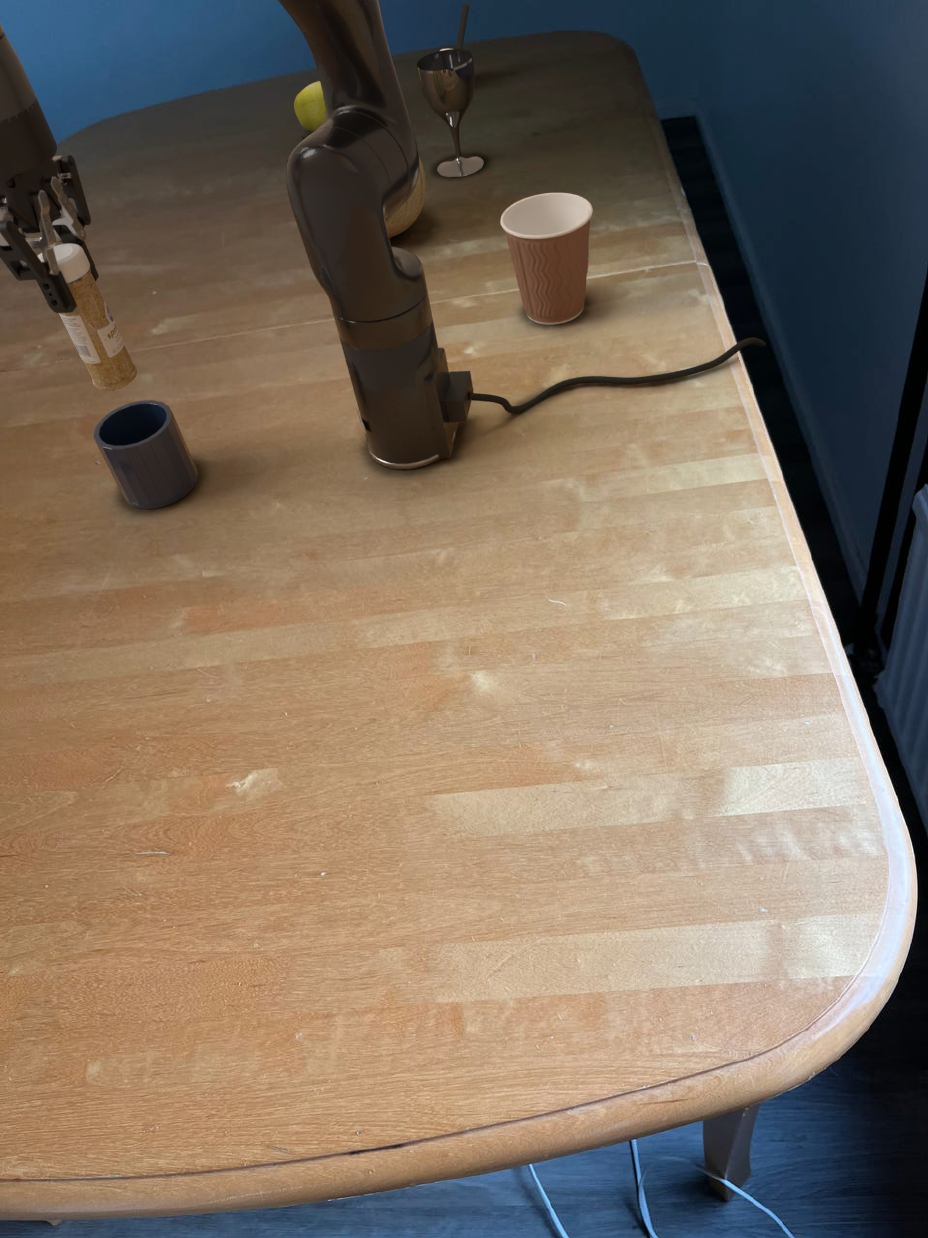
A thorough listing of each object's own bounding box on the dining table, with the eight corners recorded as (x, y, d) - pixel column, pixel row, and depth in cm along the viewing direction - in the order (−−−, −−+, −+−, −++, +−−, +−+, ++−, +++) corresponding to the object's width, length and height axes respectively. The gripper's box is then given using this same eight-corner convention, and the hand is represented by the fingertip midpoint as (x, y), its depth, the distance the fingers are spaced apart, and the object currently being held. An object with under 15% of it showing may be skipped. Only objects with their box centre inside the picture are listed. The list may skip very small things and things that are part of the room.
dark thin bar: (428, 101, 174) (415, 23, 165) (424, 88, 178) (411, 11, 169) (482, 89, 173) (473, 11, 165) (477, 76, 178) (467, 0, 169)
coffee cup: (615, 300, 122) (611, 202, 113) (561, 342, 118) (552, 244, 109) (549, 279, 128) (540, 184, 119) (494, 318, 123) (481, 223, 114)
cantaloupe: (373, 272, 135) (347, 159, 125) (310, 243, 144) (281, 134, 133) (456, 226, 141) (438, 114, 130) (391, 200, 149) (369, 93, 139)
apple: (353, 138, 167) (342, 87, 161) (299, 146, 168) (286, 96, 162) (357, 119, 172) (346, 69, 167) (305, 127, 174) (292, 77, 168)
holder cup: (207, 459, 112) (182, 398, 106) (183, 508, 107) (155, 447, 101) (139, 460, 114) (111, 401, 108) (112, 509, 109) (81, 450, 103)
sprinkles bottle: (145, 379, 101) (88, 252, 91) (102, 398, 100) (40, 272, 90) (129, 360, 104) (72, 235, 94) (87, 379, 102) (26, 254, 93)
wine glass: (496, 157, 154) (483, 50, 143) (468, 180, 150) (452, 72, 139) (452, 152, 158) (436, 47, 147) (424, 175, 154) (405, 68, 143)
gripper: (-11, 138, 77) (83, 336, 90) (66, 66, 87) (141, 254, 99) (-97, 147, 79) (7, 340, 91) (-12, 75, 88) (72, 259, 101)
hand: (77, 294), depth 95 cm, fingers closed on sprinkles bottle, 4 cm apart
